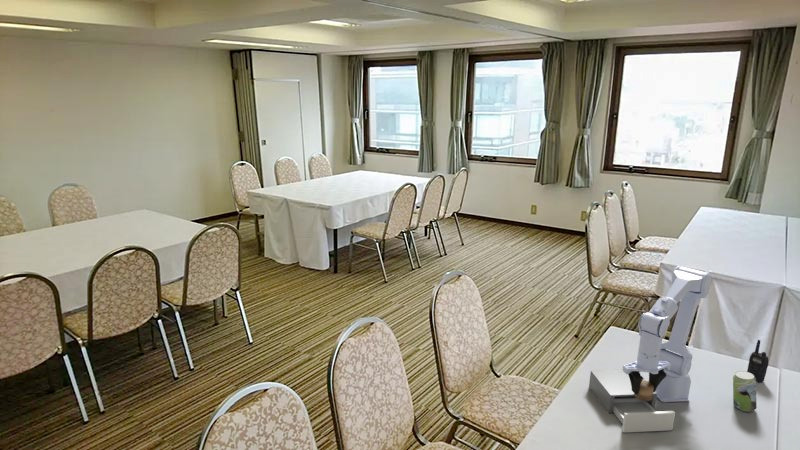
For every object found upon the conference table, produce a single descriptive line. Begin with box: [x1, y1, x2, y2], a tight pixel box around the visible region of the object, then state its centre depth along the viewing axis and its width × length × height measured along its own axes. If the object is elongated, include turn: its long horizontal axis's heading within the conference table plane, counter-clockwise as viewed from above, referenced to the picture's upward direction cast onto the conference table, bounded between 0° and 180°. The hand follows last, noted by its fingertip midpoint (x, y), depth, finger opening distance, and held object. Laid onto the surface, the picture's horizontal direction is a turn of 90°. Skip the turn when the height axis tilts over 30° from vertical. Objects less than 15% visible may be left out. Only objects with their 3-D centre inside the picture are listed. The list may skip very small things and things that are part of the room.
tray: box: [612, 396, 676, 433], centre depth 148 cm, size 15×14×6 cm
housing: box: [588, 368, 658, 414], centre depth 157 cm, size 15×14×6 cm
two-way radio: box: [746, 339, 769, 384], centre depth 167 cm, size 6×4×15 cm
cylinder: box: [633, 379, 654, 401], centre depth 146 cm, size 5×5×4 cm
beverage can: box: [732, 370, 758, 412], centre depth 152 cm, size 6×7×12 cm
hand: (643, 391), depth 146 cm, fingers closed on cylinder, 5 cm apart
